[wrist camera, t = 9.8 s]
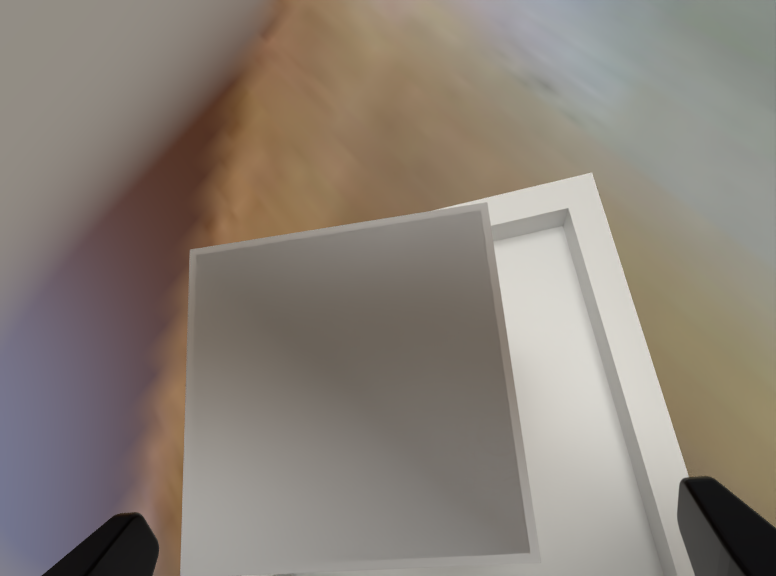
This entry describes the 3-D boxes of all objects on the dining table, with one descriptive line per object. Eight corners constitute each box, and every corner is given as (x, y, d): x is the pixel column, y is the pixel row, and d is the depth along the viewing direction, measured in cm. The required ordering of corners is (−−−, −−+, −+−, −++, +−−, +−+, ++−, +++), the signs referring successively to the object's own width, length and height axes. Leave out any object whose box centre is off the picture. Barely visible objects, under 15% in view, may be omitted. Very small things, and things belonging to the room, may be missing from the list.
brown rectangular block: (513, 480, 16) (541, 562, 6) (375, 489, 17) (180, 578, 7) (493, 340, 17) (487, 201, 7) (366, 355, 18) (189, 249, 8)
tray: (701, 603, 15) (739, 634, 13) (283, 652, 17) (249, 687, 15) (580, 205, 19) (592, 172, 17) (250, 281, 21) (219, 261, 19)
